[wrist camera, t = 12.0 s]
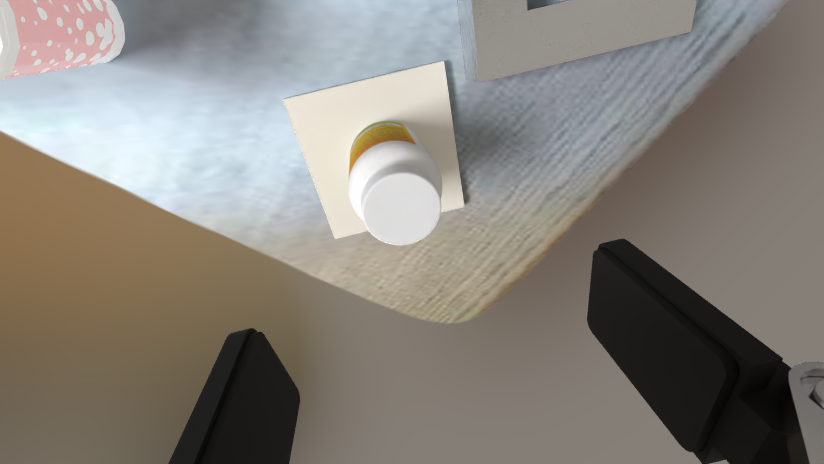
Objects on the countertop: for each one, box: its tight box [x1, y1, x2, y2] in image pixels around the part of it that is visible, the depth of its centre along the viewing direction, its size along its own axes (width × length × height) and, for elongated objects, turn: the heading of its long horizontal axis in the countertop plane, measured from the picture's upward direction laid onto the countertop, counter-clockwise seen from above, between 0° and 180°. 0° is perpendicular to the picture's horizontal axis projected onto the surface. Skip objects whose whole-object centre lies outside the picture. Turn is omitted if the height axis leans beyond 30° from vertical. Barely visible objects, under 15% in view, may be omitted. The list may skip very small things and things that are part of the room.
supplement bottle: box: [348, 121, 442, 245], centre depth 21 cm, size 5×5×10 cm
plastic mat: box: [283, 61, 464, 239], centre depth 25 cm, size 11×11×1 cm
